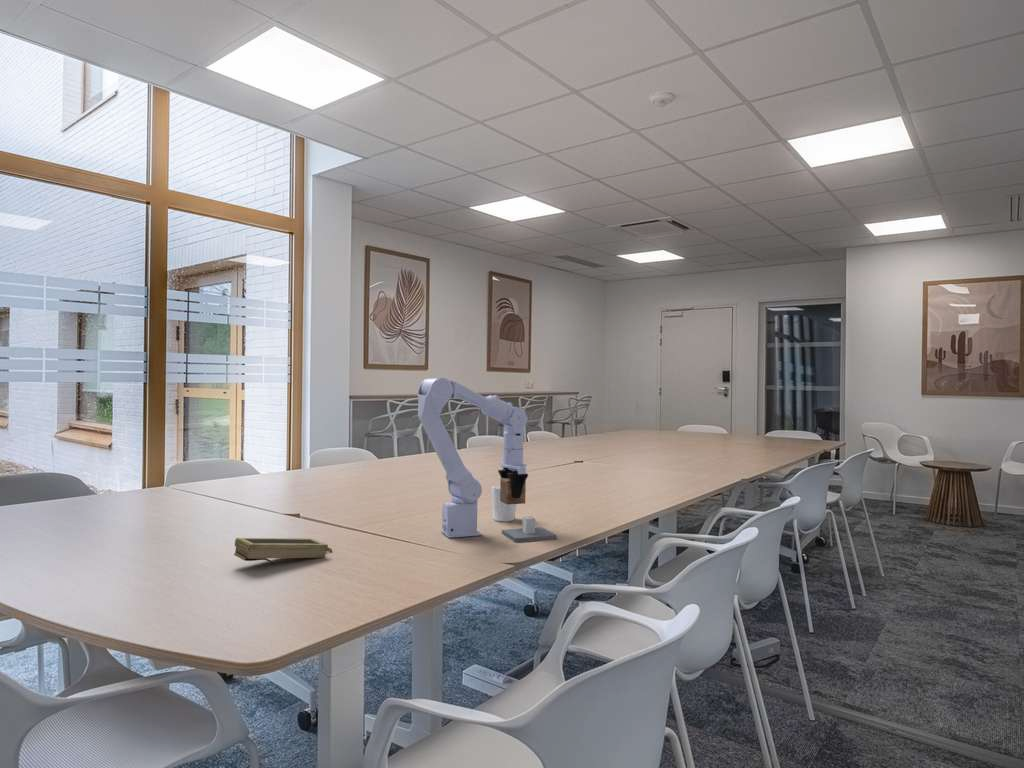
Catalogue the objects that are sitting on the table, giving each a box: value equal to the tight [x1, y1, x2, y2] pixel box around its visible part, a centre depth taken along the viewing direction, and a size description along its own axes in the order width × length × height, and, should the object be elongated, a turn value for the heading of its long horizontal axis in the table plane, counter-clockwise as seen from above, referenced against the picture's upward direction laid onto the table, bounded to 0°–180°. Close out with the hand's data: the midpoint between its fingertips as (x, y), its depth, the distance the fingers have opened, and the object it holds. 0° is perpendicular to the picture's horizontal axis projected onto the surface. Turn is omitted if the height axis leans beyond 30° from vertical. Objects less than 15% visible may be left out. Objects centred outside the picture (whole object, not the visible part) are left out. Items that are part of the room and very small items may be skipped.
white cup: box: [491, 484, 517, 522], centre depth 190 cm, size 8×8×10 cm
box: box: [233, 537, 333, 564], centre depth 143 cm, size 8×22×5 cm, turn 136°
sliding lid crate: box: [499, 477, 527, 505], centre depth 178 cm, size 6×6×7 cm
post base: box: [501, 516, 558, 543], centre depth 169 cm, size 12×10×5 cm
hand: (512, 496), depth 178 cm, fingers closed on sliding lid crate, 6 cm apart
